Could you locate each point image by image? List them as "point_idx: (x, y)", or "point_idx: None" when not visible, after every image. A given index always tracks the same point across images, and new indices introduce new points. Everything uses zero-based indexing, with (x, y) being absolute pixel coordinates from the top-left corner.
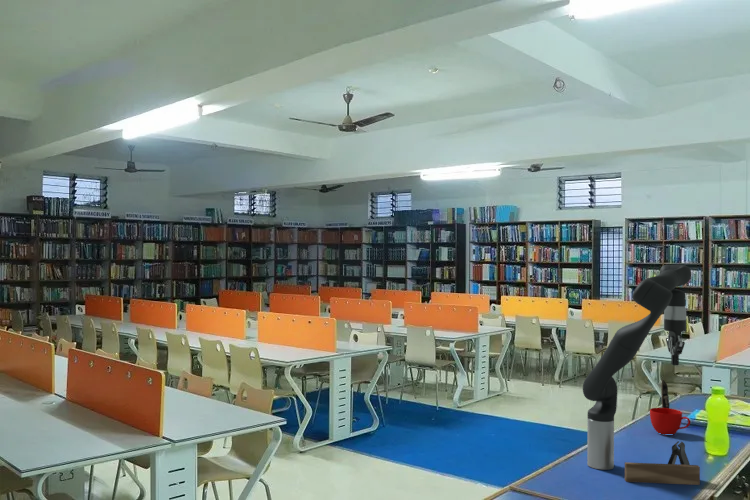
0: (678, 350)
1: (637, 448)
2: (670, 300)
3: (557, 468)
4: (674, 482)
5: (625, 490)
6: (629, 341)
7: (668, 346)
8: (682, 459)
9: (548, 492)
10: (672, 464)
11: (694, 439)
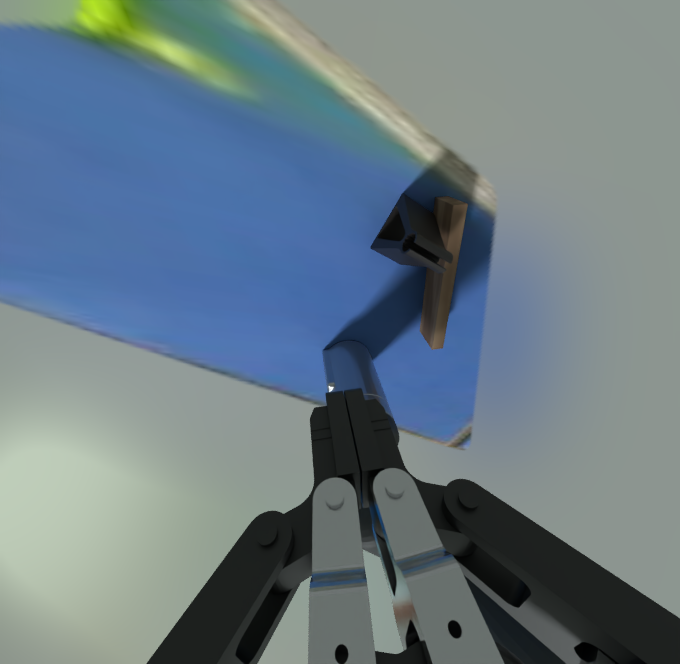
0: (429, 539)
1: (172, 273)
2: None
3: None
4: None
5: (469, 335)
6: None
7: (254, 644)
8: (442, 242)
9: (470, 416)
10: (446, 264)
11: None
